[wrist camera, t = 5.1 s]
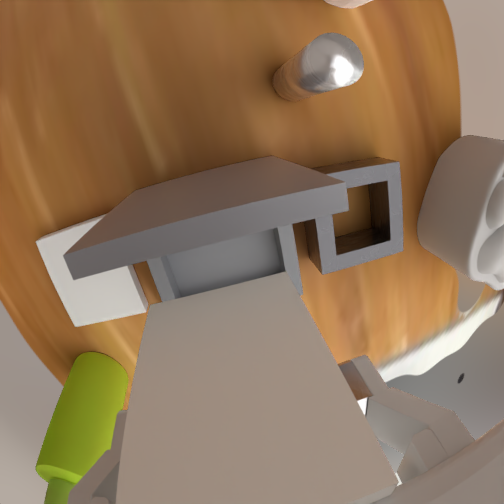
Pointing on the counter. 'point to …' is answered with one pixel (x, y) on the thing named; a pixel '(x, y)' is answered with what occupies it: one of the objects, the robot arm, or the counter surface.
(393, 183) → the rod bracket
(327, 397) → the block
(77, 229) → the plate
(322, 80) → the rod
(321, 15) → the counter surface
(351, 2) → the white faceted tapered cup
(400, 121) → the counter surface
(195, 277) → the grey device stand
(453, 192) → the lumpy-topped squat cylinder
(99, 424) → the soap dispenser
